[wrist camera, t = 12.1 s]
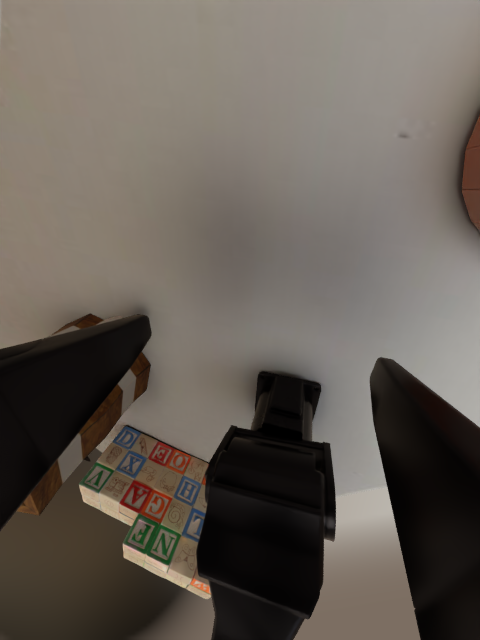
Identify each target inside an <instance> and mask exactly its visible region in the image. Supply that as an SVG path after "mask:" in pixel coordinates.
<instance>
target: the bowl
mask: <svg viewBox="0 0 480 640" xmlns="http://www.w3.org/2000/svg"><path fill="white" fill-rule="evenodd" d="M466 149H467V150H466V151H465V161H464V171H463V181H462V194H463V197H464V200H465V204H466V207H467V210H468V214H469V217H470V220H471V221H472V223H473V224H474V225H475V226H476V227H477V228H478V229H479V230H480V115H479V118H478V120H477V123H476V125H475V128H474V130H473V132H472V135H471V137H470V140H469V142H468V145H467V147H466Z"/></svg>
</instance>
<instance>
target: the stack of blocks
mask: <svg viewBox="0 0 480 640" xmlns="http://www.w3.org/2000/svg"><path fill="white" fill-rule="evenodd" d="M208 465H209V464H208V463H206V462H204V461H202V460H199V459H197V458H195V457H193V456H190V455H187V454H185V453H183V452H181V451H179V450H177V449H174V448H172V447H170V446H168V445H166V444H163V443H161V442H158V441H157V440H155V439H153V438H151V437H149V436H146V435H144V434H142V433H140V432H138V431H136V430H134V429H132V428H129V427H127V426H125V427H124V428H123V429H122V430H121V432H120V433H119V434H118V435H117V437H116V438H115V439H114V440H113V442H112V443H111V444H110V445H109V446H108V447H107V449H106V450H105V451H104V452H103V454H102V455H101V456H100V457H99V459H98V460H97V462H96V463H95V464H94V466H93V467H92V468H91V470H90V471H89V472H88V473H87V474H86V476H85V477H84V478H83V479H82V481H81V482H80V483H79V486H80V491H81V494H82V497H83V501H84V502H85V503H87V504H89V505H91V506H93V507H95V508H97V509H100V510H101V511H103V512H105V513H106V514H108V515H110V516H112V517H114V518H116V519H118V520H120V521H122V522H124V523H126V524H128V525H130V526H132V527H131V529H130V530H129V533H128V534H127V536H126V538H125V540H124V542H123V551H124V558H126V559H128V560H130V561H132V562H134V563H136V564H138V565H140V566H142V567H144V568H145V569H147V570H149V571H150V572H152V573H155V574H156V575H158V576H160V577H163V578H166V579H167V580H169V581H171V582H173V583H176V584H178V585H179V586H181V587H184V588H186V589H187V590H189V591H191V592H193V593H195V594H197V595H199V596H201V597H203V598H204V599H208V598H210V597H211V592H210V586H209V581H208V580H207V579H204V578H202V577H199V575H198V570H197V558H196V549H197V545H198V541H199V538H200V534H201V530H202V526H203V522H204V518H205V514H206V508H207V503H206V501H205V484H206V479H205V471H206V469H207V468H208Z"/></svg>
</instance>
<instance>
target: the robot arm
mask: <svg viewBox="0 0 480 640" xmlns="http://www.w3.org/2000/svg"><path fill="white" fill-rule="evenodd" d="M150 337H151V327H150V321H149V318H148V317H147V316H145V315H140V314H137V315H133V316H129V317H126V318H122V319H118V320H114V321H110V322H106V323H102V324H98V325H94V326H90V327H87V328H83V329H79V330H75V331H71V332H67V333H63V334H59V335H55V336H52V337H48V338H44V339H40V340H36V341H32V342H28V343H24V344H20V345H16V346H12V347H7V348H3V349H0V531H1V530H2V529H3V527H4V526H5V525H6V524H7V522H8V521H9V520H10V518H11V517H12V516H13V515H14V514H15V512H16V511H17V510H18V509H19V507H20V506H21V505H22V504H23V502H24V501H25V500H26V499H27V497H28V496H29V495H30V494H31V492H32V491H33V490H34V489H35V487H36V486H37V485H38V484H39V482H40V481H41V480H42V479H43V477H44V476H45V475H46V473H47V472H48V471H49V470H50V467H52V466H53V464H54V463H55V462H56V461H57V459H58V458H59V457H60V456H61V454H62V453H63V452H64V451H65V449H66V448H67V447H68V446H69V444H70V443H71V442H72V441H73V439H74V438H75V437H76V436H77V434H78V433H79V432H80V431H81V429H82V428H83V427H84V426H85V424H86V423H87V422H88V421H89V419H90V418H91V417H92V416H93V414H94V413H95V412H96V411H97V409H98V408H99V407H100V406H101V404H102V403H103V402H104V400H105V399H106V398H107V397H108V395H109V394H110V393H111V392H112V390H113V389H114V388H115V387H116V385H117V384H118V383H119V382H120V380H121V379H122V378H123V377H124V375H125V374H126V373H127V372H128V370H129V369H130V368H131V366H132V365H133V364H134V362H135V361H136V359H137V358H138V356H139V355H140V353H141V351H142V350H143V348H144V347H145V345H146V344H147V342H148V341H149V339H150ZM262 376H264V377H262ZM315 387H317V388H315ZM370 390H371V402H372V413H373V422H374V427H375V432H376V437H377V441H378V446H379V450H380V455H381V459H382V464H383V469H384V473H385V478H386V482H387V487H388V491H389V496H390V501H391V505H392V510H393V514H394V519H395V523H396V528H397V533H398V537H399V541H400V546H401V551H402V555H403V560H404V564H405V569H406V574H407V578H408V583H409V587H410V592H411V596H412V601H413V605H414V608H415V615H416V620H417V625H418V629H419V633H420V638H421V640H480V427H478V426H477V425H476V424H475V423H473V422H472V421H471V420H469V419H468V418H467V417H466V416H464V415H463V414H462V413H460V412H459V411H458V410H457V409H455V408H454V407H453V406H451V405H450V404H449V403H448V402H446V401H445V400H444V399H443V398H441V397H440V396H439V395H437V394H436V393H435V392H434V391H432V390H431V389H430V388H428V387H427V386H426V385H425V384H423V383H422V382H421V381H420V380H418V379H417V378H416V377H414V376H413V375H412V374H411V373H409V372H408V371H407V370H405V369H404V368H403V367H402V366H400V365H399V364H398V363H396V362H395V361H394V360H392V359H388V358H382V357H380V358H378V359H377V361H376V363H375V366H374V368H373V371H372V373H371V376H370ZM320 393H321V385H320V384H318V383H315V382H310V381H305V380H301V379H296V378H291V377H286V376H282V375H277V374H272V373H268V372H260V373H259V375H258V383H257V394H256V405H255V415H254V419H253V422H252V426H251V430H249V429H243V428H238V427H237V426H233V425H231V427H230V429H229V430H228V432H227V433H226V435H225V436H224V438H223V440H222V441H221V443H220V445H219V447H218V448H217V450H216V452H215V454H214V455H213V457H212V459H211V460H210V462H209V465H208V468H207V469H206V471H205V479H206V484H205V501H206V503H207V508H206V514H205V518H204V522H203V526H202V530H201V534H200V538H199V541H198V545H197V549H196V558H197V570H198V575H199V577H202V578H204V579H207V580H208V581H209V586H210V592H211V597H212V601H213V607H214V611H215V619H214V626H213V633H212V639H211V640H293V639H294V638H295V636H296V634H297V632H298V630H299V628H300V626H301V625H302V622H303V621H304V619H309V618H310V617H311V615H312V612H313V610H314V608H315V606H316V603H317V601H318V599H319V595H320V589H321V587H322V584H323V560H324V558H323V557H324V539H327V540H331V541H334V539H335V527H336V525H335V524H336V501H335V484H334V475H333V466H332V458H331V449H330V443H325V442H323V443H319V442H314V441H312V422H313V418H314V414H315V411H316V407H317V404H318V400H319V396H320Z"/></svg>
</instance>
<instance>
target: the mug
mask: <svg viewBox="0 0 480 640" xmlns="http://www.w3.org/2000/svg"><path fill="white" fill-rule="evenodd" d="M118 319H122V317H121V316H114V317H111V318H108V319H106V320H102V319H100V318H98V317H96V316H94V315H92V314H88V315H86V316H84V317H82V318H79V319H77V320H75V321H73V322H71V323H68V324H66V325H65V326H64V327H62V328H61V329H59V330H58V331H56V332H55V333H54V334H52V335H51V336H49V337H52V336H55V335H59V334H63V333H67V332H71V331H75V330H79V329H83V328H87V327H90V326H94V325H98V324H102V323H106V322H110V321H114V320H118ZM47 338H48V337H47ZM150 366H151V365H150V363H149V362H148V361H147V359H146V358H145V356H144V355H143V353H142V352H141V353H140V355H139V356H138V358H137V359H136V361H135V362H134V364H133V365H132V366H131V368H130V369H129V370H128V372H127V373H126V374H125V375H124V377H123V378H122V379H121V380H120V382H119V383H118V384H117V385H116V387H115V388H114V389H113V390H112V392H111V393H110V394H109V395H108V397H107V398H106V399H105V400H104V402H103V403H102V404H101V406H100V407H99V408H98V409H97V411H96V412H95V413H94V414H93V416H92V417H91V418H90V419H89V421H88V422H87V423H86V424H85V426H84V427H83V428H82V429H81V431H80V432H79V433H78V434H77V436H76V437H75V438H74V439H73V441H72V442H71V443H70V444H69V446H68V447H67V448H66V449H65V451H64V452H63V453H62V454H61V456H60V457H59V458H58V459H57V461H56V462H55V463H54V464H53V466H52V467H50V470H49V471H48V472H47V473H46V475H45V476H44V477H43V479H42V480H41V481H40V482H39V484H38V485H37V486H36V487H35V489H34V490H33V491H32V492H31V494H30V495H29V496H28V497H27V499H26V500H25V501H24V502H23V504H22V505H21V506H20V507H19V509H18V510H17V511H19V512H24V513H29V514H35V515H40V514H41V513H42V512H43V510H44V509H45V507H46V506H47V505H48V503H49V502H50V500H51V499H52V498H53V496H54V495H55V493H56V492H57V491H58V489H59V488H60V487H61V485H62V484H63V483H64V481H65V480H66V479H67V478H68V477H69V476H70V474H71V473H72V472H73V471H74V470H75V469H76V467H77V466H78V465H79V464H80V463H81V461H83V460H84V459H85V458H86V457H87V456H88V455H89V454H90V452H92V451H93V450H94V449H95V448H96V447H97V446H98V445H99V444H100V443H101V442H102V441H103V440H104V439H105V438H106V436H107V435H108V433H109V432H110V431H111V429H112V428H113V427H114V425H115V424H116V422H117V421H118V420H119V418H120V417H121V416H122V414H123V413H124V412H125V411H126V410H127V409H128V407H129V406H130V405H131V404H132V403H133V402H134V401H135V400H136V399H137V398H138V397H139V396H140V395H141V394H143V393H144V392H145V391H146V389H147V383H148V377H149V372H150Z"/></svg>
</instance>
